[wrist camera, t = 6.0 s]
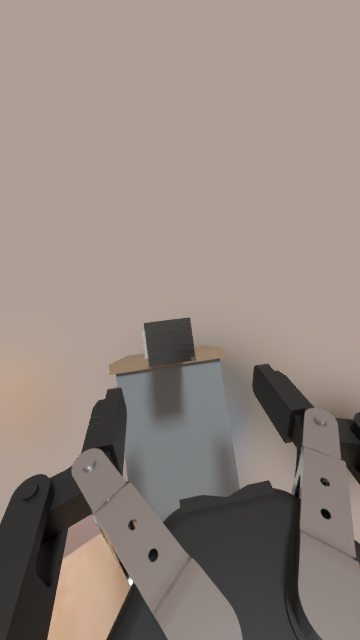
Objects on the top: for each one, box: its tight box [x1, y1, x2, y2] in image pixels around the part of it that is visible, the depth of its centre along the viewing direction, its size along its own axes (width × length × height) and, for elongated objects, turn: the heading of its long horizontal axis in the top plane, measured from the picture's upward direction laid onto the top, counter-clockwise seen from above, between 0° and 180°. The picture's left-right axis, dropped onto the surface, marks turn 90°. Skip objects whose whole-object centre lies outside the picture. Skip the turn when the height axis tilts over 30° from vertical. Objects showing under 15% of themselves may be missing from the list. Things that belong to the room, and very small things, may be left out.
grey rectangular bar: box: [142, 318, 196, 367], centre depth 25 cm, size 19×5×3 cm, turn 6°
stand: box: [109, 346, 240, 522], centre depth 29 cm, size 14×12×32 cm
